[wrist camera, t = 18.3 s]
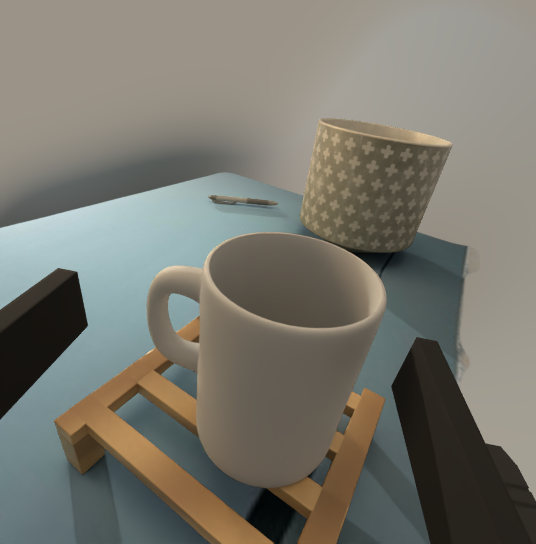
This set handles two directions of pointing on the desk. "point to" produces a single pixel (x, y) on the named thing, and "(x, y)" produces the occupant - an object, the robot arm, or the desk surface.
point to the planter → (370, 184)
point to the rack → (182, 407)
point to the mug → (271, 348)
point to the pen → (240, 200)
